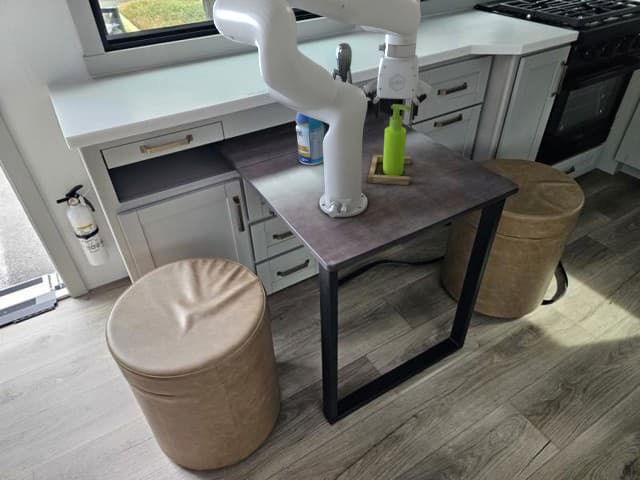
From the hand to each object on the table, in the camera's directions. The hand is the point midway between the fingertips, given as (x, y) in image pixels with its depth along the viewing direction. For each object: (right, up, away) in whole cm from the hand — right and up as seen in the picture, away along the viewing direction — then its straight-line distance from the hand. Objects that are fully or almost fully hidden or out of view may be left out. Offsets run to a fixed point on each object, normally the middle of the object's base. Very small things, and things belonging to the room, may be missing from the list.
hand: (395, 117), depth 116 cm
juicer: (-13, +2, +32) cm, 35 cm away
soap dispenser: (+2, -13, +11) cm, 17 cm away
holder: (0, -13, +11) cm, 17 cm away
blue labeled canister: (-23, -8, +19) cm, 31 cm away
